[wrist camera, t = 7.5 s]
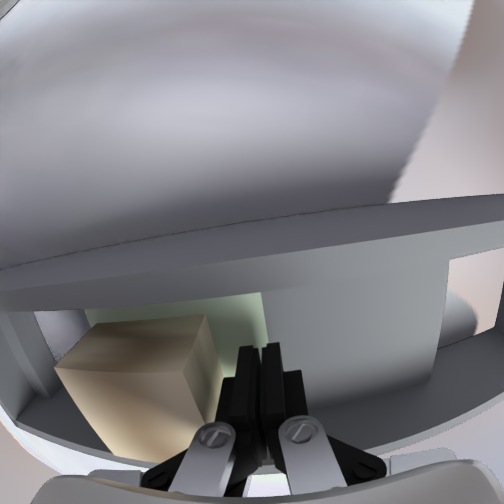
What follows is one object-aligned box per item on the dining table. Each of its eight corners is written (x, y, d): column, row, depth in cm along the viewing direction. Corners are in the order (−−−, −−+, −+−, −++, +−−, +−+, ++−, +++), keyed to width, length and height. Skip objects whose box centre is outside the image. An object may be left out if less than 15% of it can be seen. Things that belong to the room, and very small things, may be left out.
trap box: (49, 385, 18) (16, 426, 12) (-1, 269, 15) (-53, 297, 9) (498, 334, 15) (540, 373, 9) (516, 192, 12) (579, 208, 6)
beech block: (137, 407, 14) (114, 455, 10) (96, 323, 12) (53, 367, 8) (234, 408, 13) (227, 467, 9) (205, 313, 12) (182, 372, 8)
